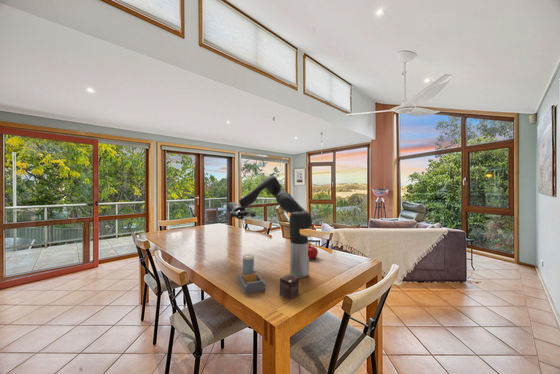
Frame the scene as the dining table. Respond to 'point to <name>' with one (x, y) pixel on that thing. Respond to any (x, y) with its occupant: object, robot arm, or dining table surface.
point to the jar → (248, 264)
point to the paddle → (250, 278)
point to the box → (289, 286)
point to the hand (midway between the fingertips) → (245, 215)
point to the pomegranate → (312, 252)
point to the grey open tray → (252, 285)
